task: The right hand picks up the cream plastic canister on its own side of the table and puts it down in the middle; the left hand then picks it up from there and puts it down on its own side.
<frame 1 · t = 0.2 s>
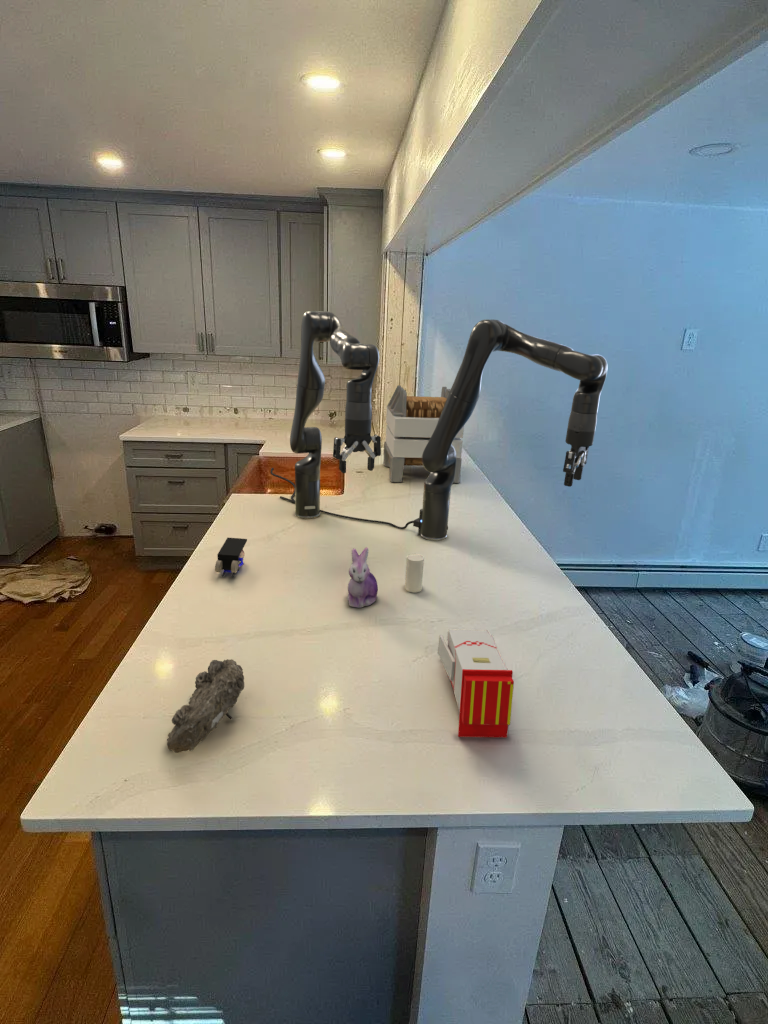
left hand: (356, 471, 167), 29 cm above the counter, tool pointing down, fingers open, 8 cm apart
right hand: (572, 482, 165), 29 cm above the counter, tool pointing down, fingers open, 8 cm apart
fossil: (212, 717, 108), on the counter
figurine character: (232, 569, 168), on the counter
canister: (413, 588, 161), on the counter
figurine: (362, 600, 153), on the counter
grey slatted box: (419, 473, 275), on the counter
toy: (469, 691, 119), on the counter
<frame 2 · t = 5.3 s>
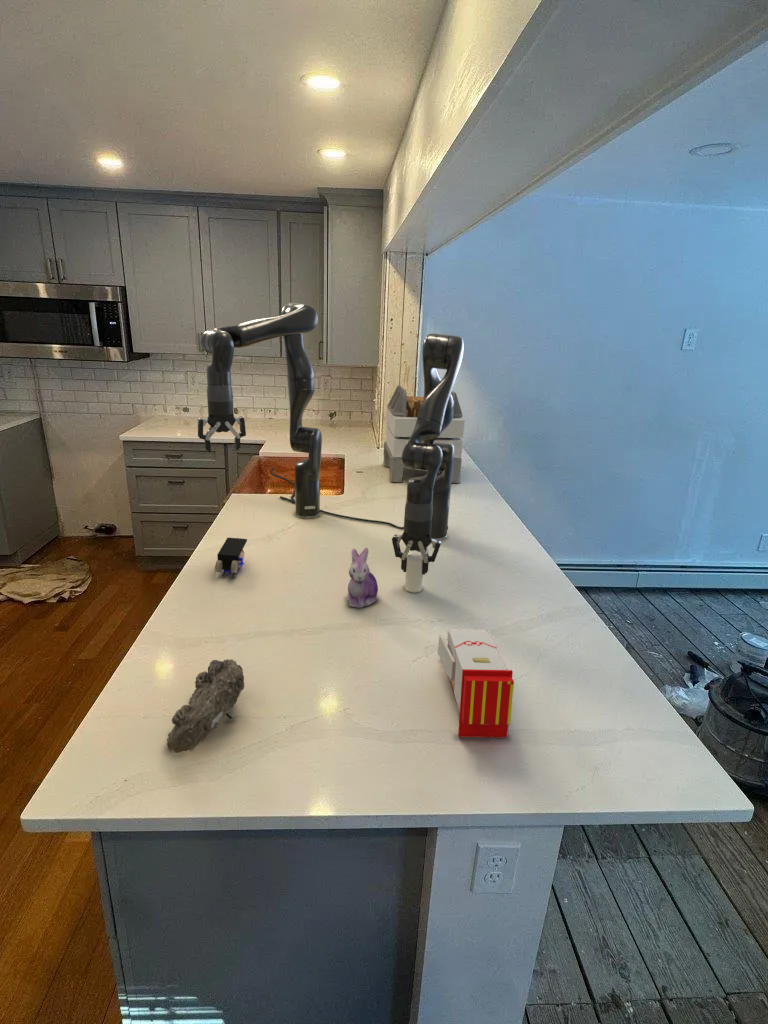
left hand: (223, 450, 178), 30 cm above the counter, tool pointing down, fingers open, 8 cm apart
right hand: (414, 572, 160), 5 cm above the counter, tool pointing down, fingers closed on canister, 5 cm apart
canister: (413, 588, 161), on the counter, touching right hand
everything else where it was.
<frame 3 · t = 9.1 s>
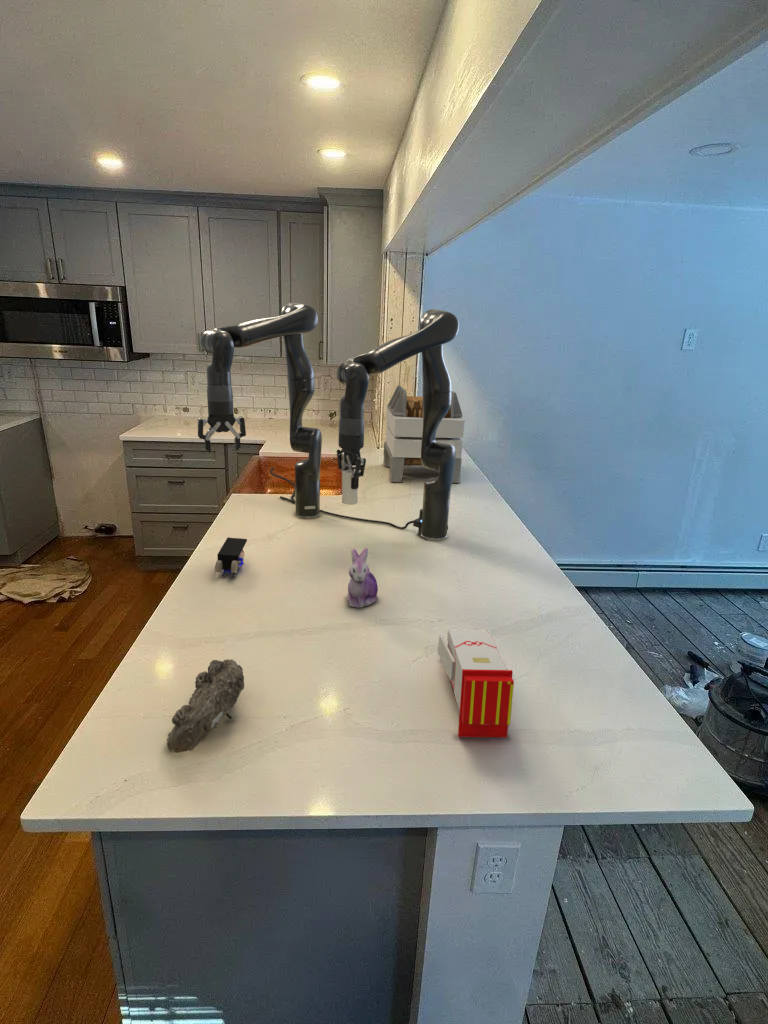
left hand: (223, 450, 178), 30 cm above the counter, tool pointing down, fingers open, 8 cm apart
right hand: (350, 486, 173), 23 cm above the counter, tool pointing down, fingers closed on canister, 5 cm apart
canister: (349, 502, 175), point 18 cm above the counter, touching right hand
everything else where it was.
when the right hand's fingers open (6 cm above the counter, at t = 12.9 s): canister stays where it is, on the counter.
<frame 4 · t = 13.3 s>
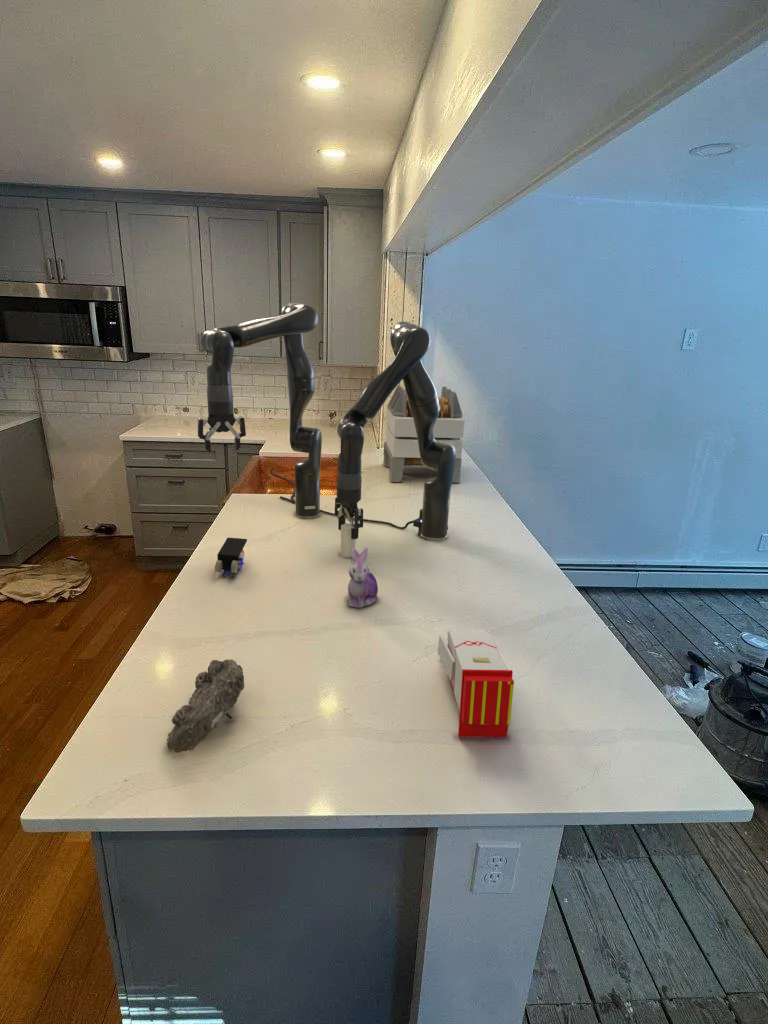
left hand: (223, 450, 178), 30 cm above the counter, tool pointing down, fingers open, 8 cm apart
right hand: (348, 534, 179), 7 cm above the counter, tool pointing down, fingers open, 8 cm apart
canister: (347, 554, 182), on the counter
everything else where it was.
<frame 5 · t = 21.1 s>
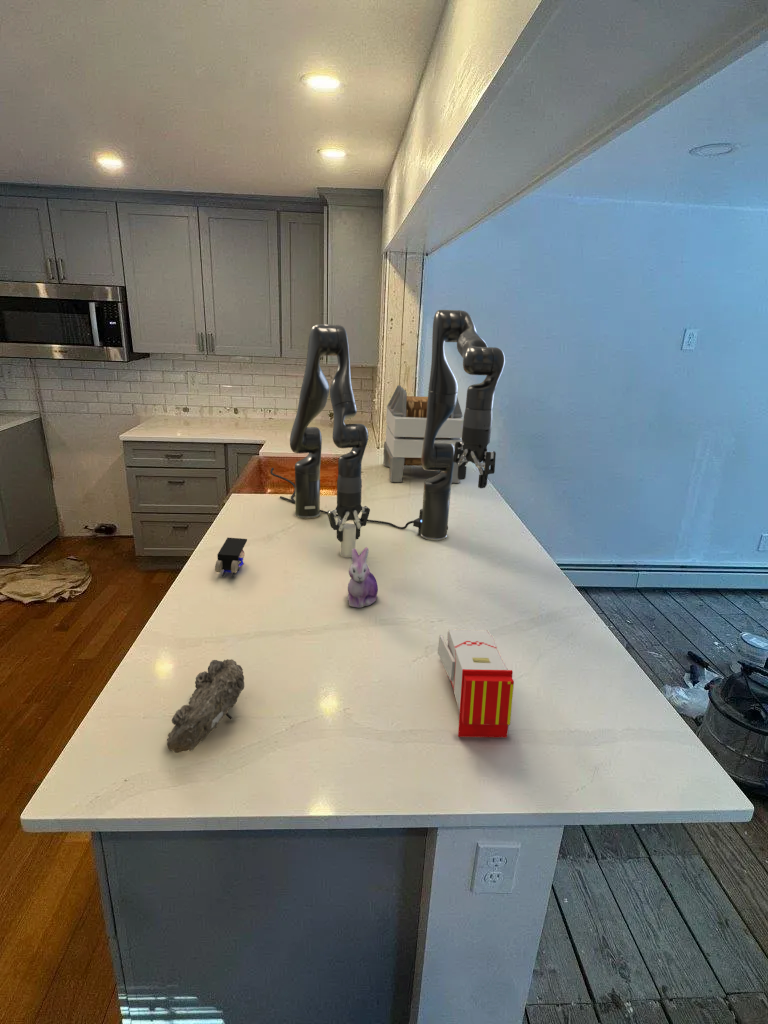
left hand: (348, 539, 180), 5 cm above the counter, tool pointing down, fingers closed on canister, 5 cm apart
right hand: (471, 483, 156), 30 cm above the counter, tool pointing down, fingers open, 8 cm apart
canister: (347, 554, 182), on the counter, touching left hand
everything else where it was.
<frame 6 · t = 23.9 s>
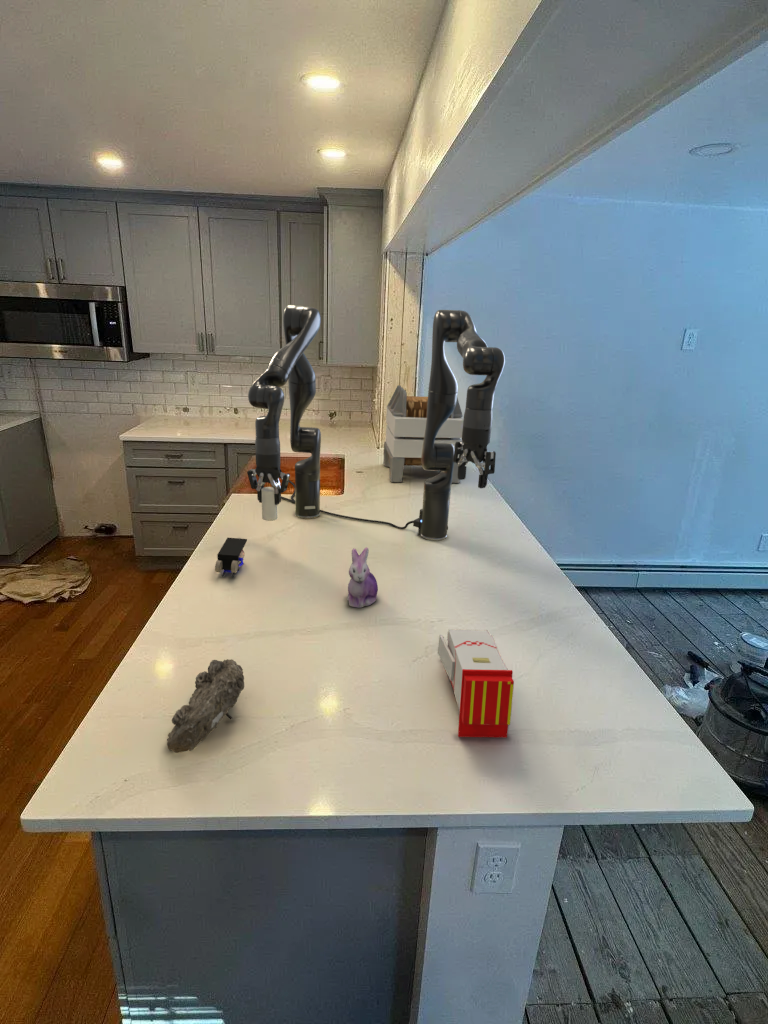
left hand: (269, 502, 180), 15 cm above the counter, tool pointing down, fingers closed on canister, 5 cm apart
right hand: (471, 483, 156), 30 cm above the counter, tool pointing down, fingers open, 8 cm apart
canister: (269, 518, 182), point 10 cm above the counter, touching left hand
everything else where it was.
when the left hand's fingers open (6 cm above the counter, at t = 26.7 s): canister stays where it is, on the counter.
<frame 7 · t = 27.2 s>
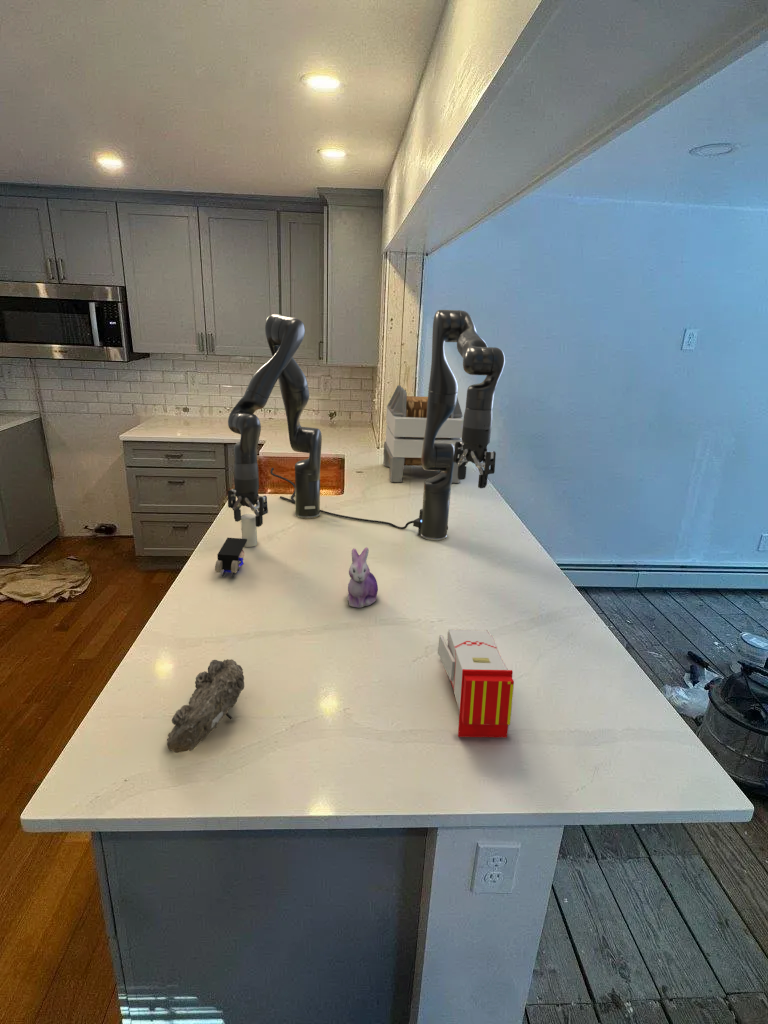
left hand: (248, 523, 183), 7 cm above the counter, tool pointing down, fingers open, 8 cm apart
right hand: (471, 483, 156), 30 cm above the counter, tool pointing down, fingers open, 8 cm apart
canister: (249, 544, 186), on the counter
everything else where it was.
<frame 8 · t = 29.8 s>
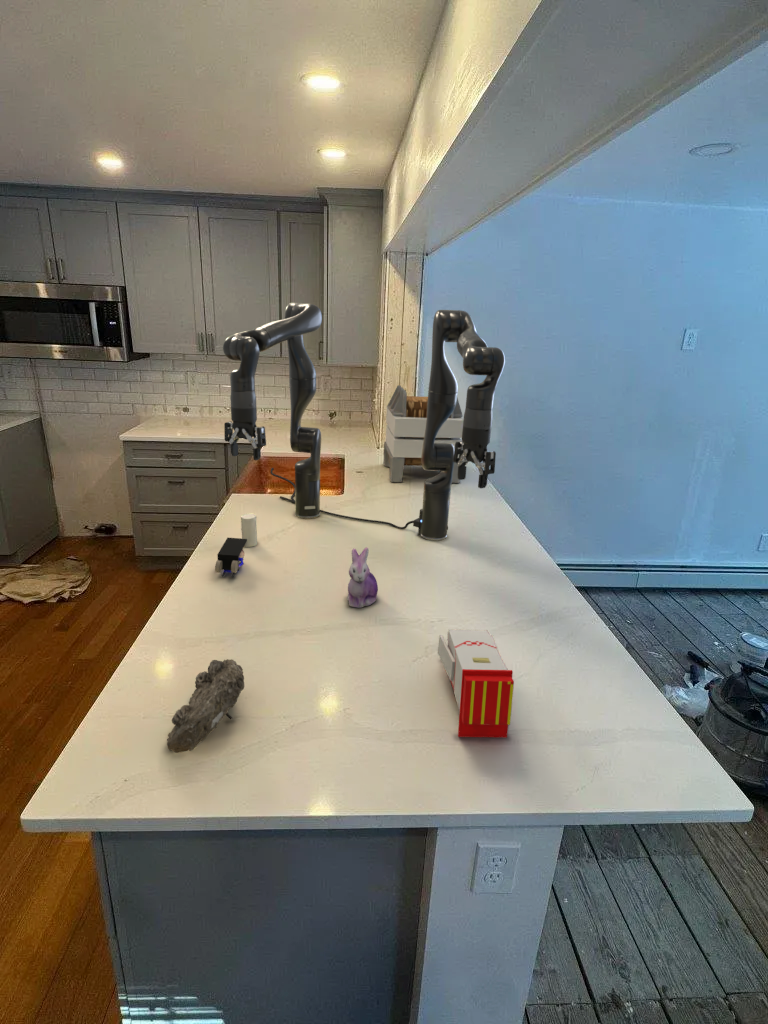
left hand: (245, 457, 176), 29 cm above the counter, tool pointing down, fingers open, 8 cm apart
right hand: (471, 483, 156), 30 cm above the counter, tool pointing down, fingers open, 8 cm apart
nothing on the counter moved.
at the end: canister inside the target area (0.2 cm from its centre), on the counter; canister tilted 0°; the two hands never held the canister at the same time; the left hand is holding nothing; the right hand is holding nothing; canister at rest at the end (0.0 cm/s) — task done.
